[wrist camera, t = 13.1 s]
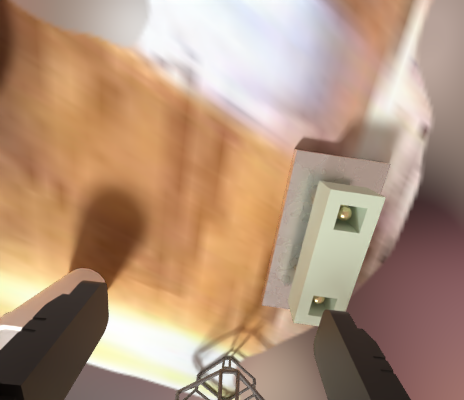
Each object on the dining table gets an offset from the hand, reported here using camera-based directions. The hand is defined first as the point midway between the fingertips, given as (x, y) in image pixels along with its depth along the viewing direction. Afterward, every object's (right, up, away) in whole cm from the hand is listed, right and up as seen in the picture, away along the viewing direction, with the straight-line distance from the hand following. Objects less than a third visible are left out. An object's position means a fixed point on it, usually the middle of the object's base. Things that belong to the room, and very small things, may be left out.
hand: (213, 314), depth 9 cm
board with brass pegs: (+13, -1, +27) cm, 30 cm away
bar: (+13, -2, +24) cm, 27 cm away
